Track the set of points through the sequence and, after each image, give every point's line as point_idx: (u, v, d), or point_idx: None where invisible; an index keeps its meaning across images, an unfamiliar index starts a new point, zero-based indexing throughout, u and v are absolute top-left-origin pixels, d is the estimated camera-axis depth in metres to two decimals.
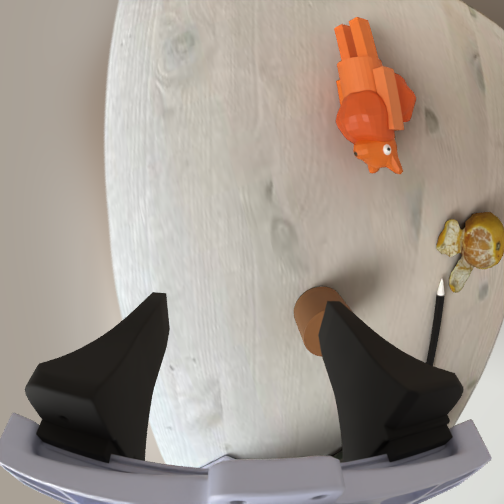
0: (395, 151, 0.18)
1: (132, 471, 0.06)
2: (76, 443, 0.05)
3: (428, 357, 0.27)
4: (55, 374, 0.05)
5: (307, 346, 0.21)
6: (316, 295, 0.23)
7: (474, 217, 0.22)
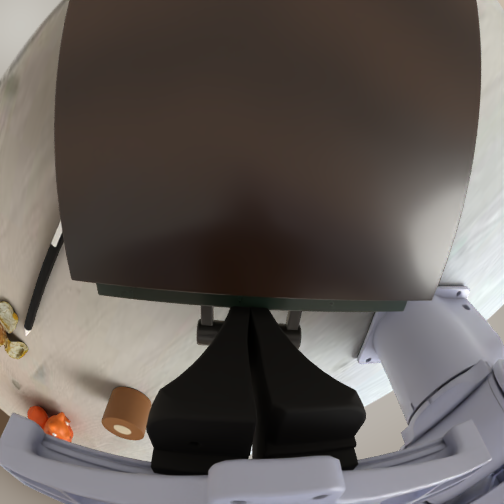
0: (49, 429, 0.25)
1: (132, 471, 0.06)
2: (206, 467, 0.06)
3: (48, 277, 0.19)
4: (194, 398, 0.06)
5: (142, 436, 0.23)
6: None
7: None
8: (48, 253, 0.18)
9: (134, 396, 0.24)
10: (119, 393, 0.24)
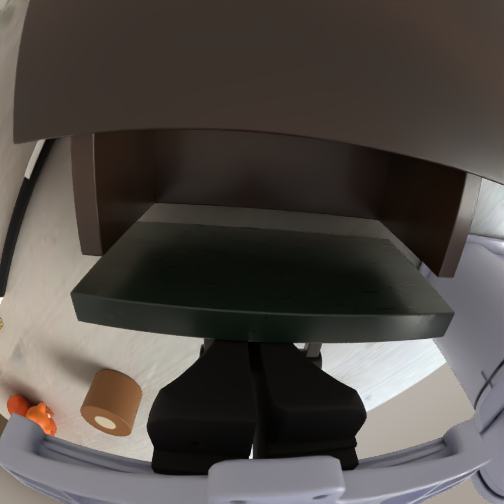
0: None
1: (132, 471, 0.06)
2: (206, 467, 0.06)
3: (20, 222, 0.14)
4: (194, 398, 0.06)
5: (129, 431, 0.18)
6: None
7: None
8: (21, 189, 0.13)
9: (121, 382, 0.20)
10: (102, 377, 0.20)
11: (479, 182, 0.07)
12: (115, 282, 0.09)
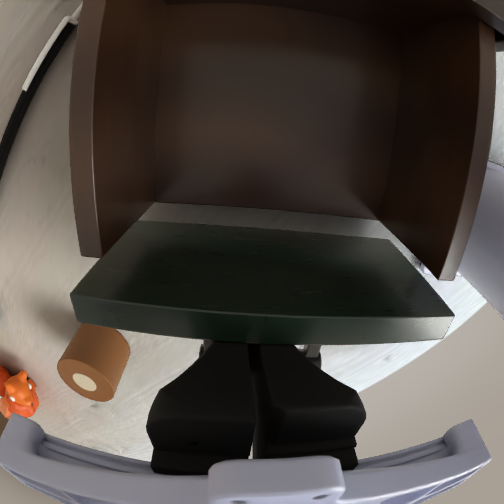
0: (7, 391, 0.18)
1: (132, 471, 0.06)
2: (206, 467, 0.06)
3: (10, 143, 0.12)
4: (194, 398, 0.06)
5: (112, 393, 0.16)
6: None
7: None
8: (16, 105, 0.11)
9: (105, 334, 0.18)
10: (84, 328, 0.18)
11: (481, 185, 0.07)
12: (114, 283, 0.09)
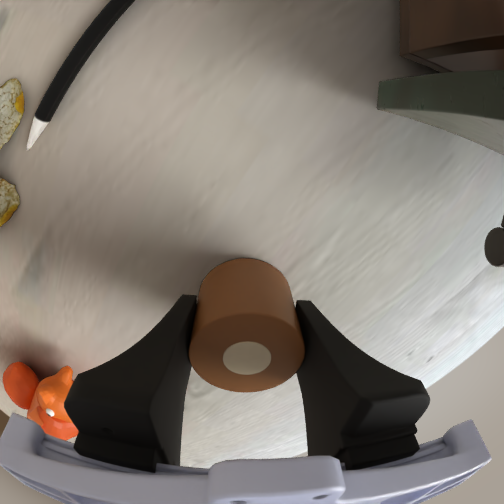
0: (41, 401, 0.13)
1: (132, 471, 0.06)
2: (120, 455, 0.06)
3: None
4: (100, 385, 0.06)
5: (296, 368, 0.11)
6: None
7: None
8: None
9: (272, 274, 0.13)
10: (233, 269, 0.12)
11: None
12: None
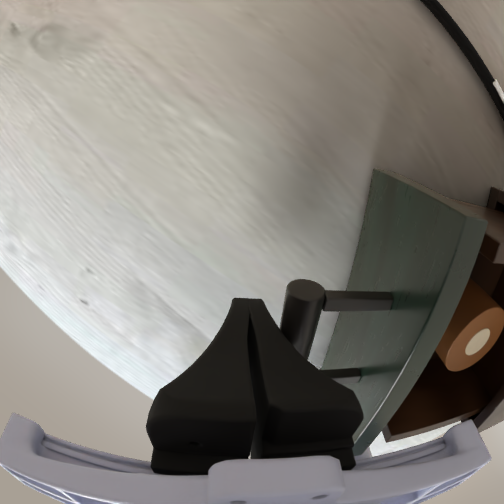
0: None
1: (132, 471, 0.06)
2: (206, 467, 0.06)
3: (453, 35, 0.09)
4: (193, 398, 0.06)
5: (454, 370, 0.12)
6: None
7: None
8: (483, 63, 0.10)
9: None
10: None
11: (431, 429, 0.13)
12: None
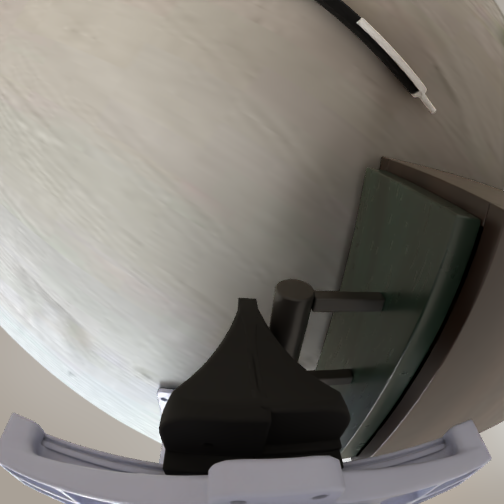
0: None
1: (132, 471, 0.06)
2: None
3: None
4: (207, 399, 0.06)
5: None
6: None
7: None
8: (341, 2, 0.09)
9: None
10: None
11: None
12: None
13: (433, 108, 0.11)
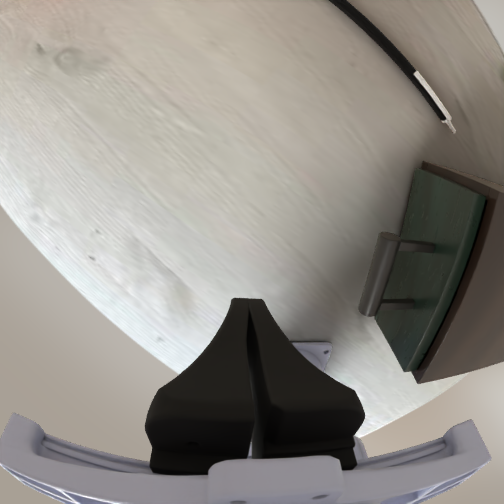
0: None
1: (132, 471, 0.06)
2: (204, 467, 0.06)
3: (375, 39, 0.15)
4: (192, 398, 0.06)
5: None
6: None
7: None
8: (404, 58, 0.15)
9: None
10: None
11: None
12: None
13: (454, 130, 0.17)
